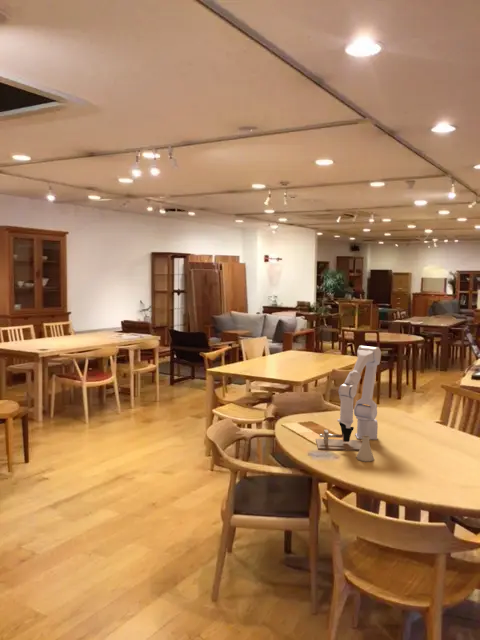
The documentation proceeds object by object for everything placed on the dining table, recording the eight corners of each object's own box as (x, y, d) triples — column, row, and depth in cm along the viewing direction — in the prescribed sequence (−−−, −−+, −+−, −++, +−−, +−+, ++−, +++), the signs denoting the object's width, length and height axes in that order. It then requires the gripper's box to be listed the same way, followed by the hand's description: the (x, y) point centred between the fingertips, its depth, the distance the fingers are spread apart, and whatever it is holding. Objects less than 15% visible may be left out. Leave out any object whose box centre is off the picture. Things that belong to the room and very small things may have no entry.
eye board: (362, 441, 272) (363, 427, 271) (367, 451, 258) (368, 436, 257) (315, 440, 273) (316, 426, 272) (318, 449, 259) (318, 435, 258)
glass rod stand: (347, 440, 268) (347, 429, 267) (349, 443, 263) (349, 432, 262) (318, 439, 268) (319, 428, 268) (319, 442, 263) (320, 431, 263)
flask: (363, 463, 242) (364, 439, 241) (353, 457, 249) (353, 435, 248) (377, 460, 246) (378, 437, 245) (366, 455, 252) (367, 433, 251)
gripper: (336, 406, 271) (335, 434, 272) (339, 414, 257) (338, 444, 258) (351, 406, 271) (350, 435, 272) (355, 414, 256) (354, 444, 258)
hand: (345, 439), depth 265 cm, fingers closed on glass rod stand, 5 cm apart
